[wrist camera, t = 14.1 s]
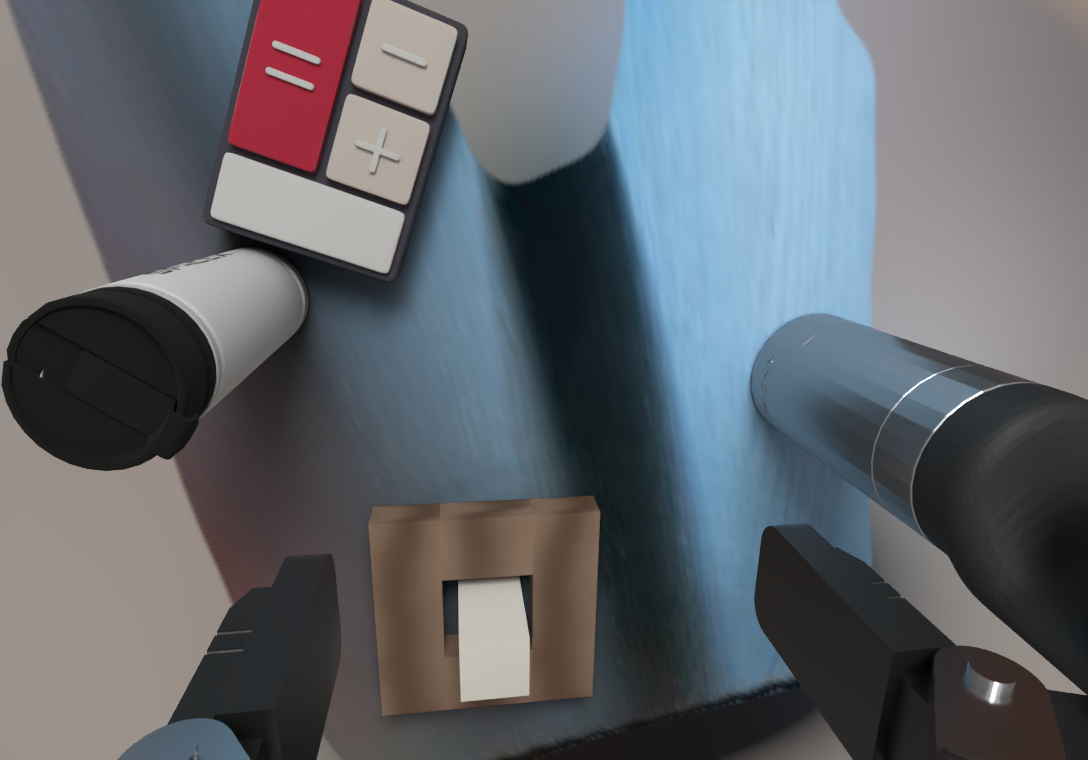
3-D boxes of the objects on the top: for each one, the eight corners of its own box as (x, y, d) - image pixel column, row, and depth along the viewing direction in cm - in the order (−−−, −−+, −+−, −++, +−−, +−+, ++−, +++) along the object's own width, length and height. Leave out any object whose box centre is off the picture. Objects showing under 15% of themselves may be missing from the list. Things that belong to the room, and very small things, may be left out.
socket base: (592, 495, 48) (600, 511, 45) (585, 673, 52) (592, 696, 50) (372, 507, 45) (368, 524, 43) (385, 690, 50) (382, 715, 48)
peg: (517, 567, 48) (529, 638, 41) (517, 618, 50) (529, 695, 42) (458, 571, 48) (459, 644, 40) (459, 622, 49) (460, 701, 42)
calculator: (471, 22, 35) (393, 286, 37) (468, 43, 39) (397, 279, 41) (262, -67, 32) (194, 222, 35) (283, -34, 36) (221, 222, 39)
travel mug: (282, 365, 42) (140, 513, 23) (186, 309, 40) (-56, 418, 21) (333, 287, 41) (228, 372, 22) (236, 226, 39) (29, 260, 20)
